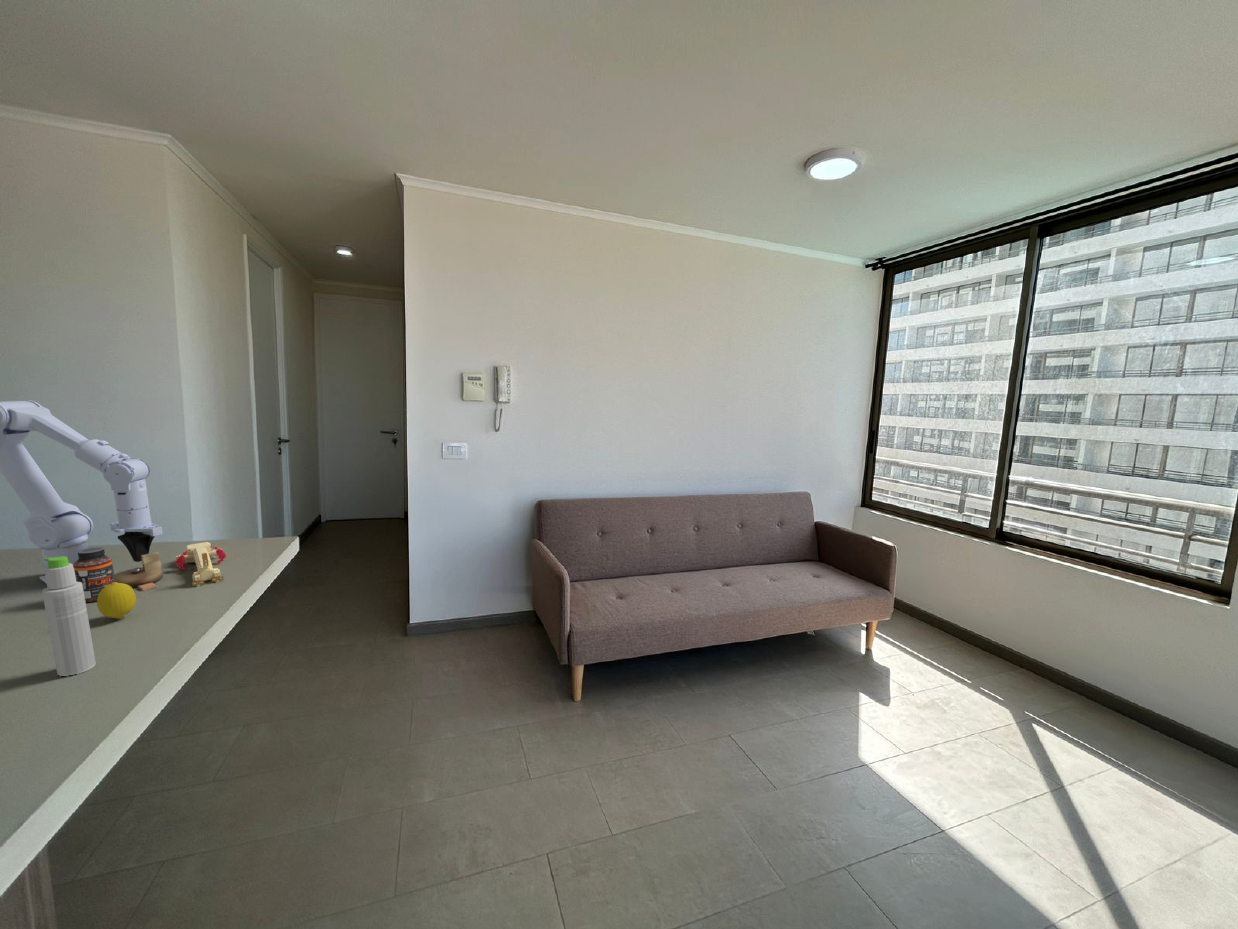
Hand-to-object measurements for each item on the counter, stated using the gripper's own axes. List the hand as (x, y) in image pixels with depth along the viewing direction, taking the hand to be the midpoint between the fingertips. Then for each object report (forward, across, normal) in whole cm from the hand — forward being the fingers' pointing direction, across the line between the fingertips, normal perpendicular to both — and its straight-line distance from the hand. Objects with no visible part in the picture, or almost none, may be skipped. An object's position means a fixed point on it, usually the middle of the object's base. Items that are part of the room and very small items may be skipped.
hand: (140, 560), depth 120 cm
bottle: (+4, +37, -32) cm, 49 cm away
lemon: (+4, +22, -17) cm, 28 cm away
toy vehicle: (+4, +10, +7) cm, 13 cm away
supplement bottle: (+4, +6, -12) cm, 14 cm away
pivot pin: (+1, +4, -3) cm, 5 cm away
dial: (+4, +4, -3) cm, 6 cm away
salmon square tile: (+4, +10, -5) cm, 11 cm away
